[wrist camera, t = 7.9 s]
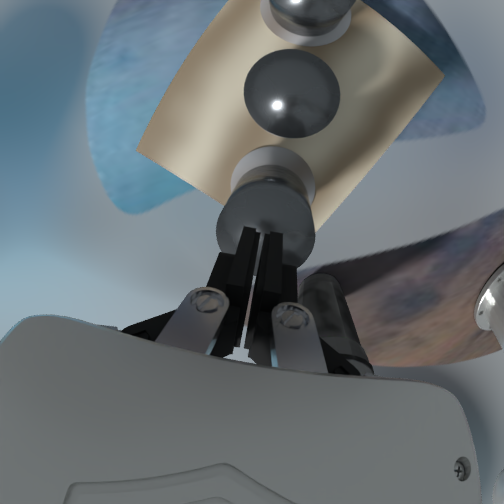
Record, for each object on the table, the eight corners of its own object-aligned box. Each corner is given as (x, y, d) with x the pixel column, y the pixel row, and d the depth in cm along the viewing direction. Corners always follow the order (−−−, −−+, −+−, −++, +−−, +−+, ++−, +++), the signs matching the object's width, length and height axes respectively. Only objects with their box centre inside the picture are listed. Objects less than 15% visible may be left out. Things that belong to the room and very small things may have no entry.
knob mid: (340, 90, 16) (358, 87, 12) (299, 143, 18) (303, 156, 14) (280, 48, 15) (278, 32, 11) (240, 103, 17) (225, 104, 13)
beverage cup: (272, 281, 29) (249, 480, 12) (334, 249, 26) (372, 463, 9) (306, 323, 32) (304, 495, 15) (362, 298, 29) (397, 477, 12)
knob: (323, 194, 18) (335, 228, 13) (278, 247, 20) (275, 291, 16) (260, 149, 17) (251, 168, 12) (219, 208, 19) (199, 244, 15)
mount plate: (428, 76, 16) (446, 75, 14) (296, 236, 26) (296, 254, 23) (274, -33, 13) (273, -48, 10) (151, 143, 23) (134, 151, 20)
